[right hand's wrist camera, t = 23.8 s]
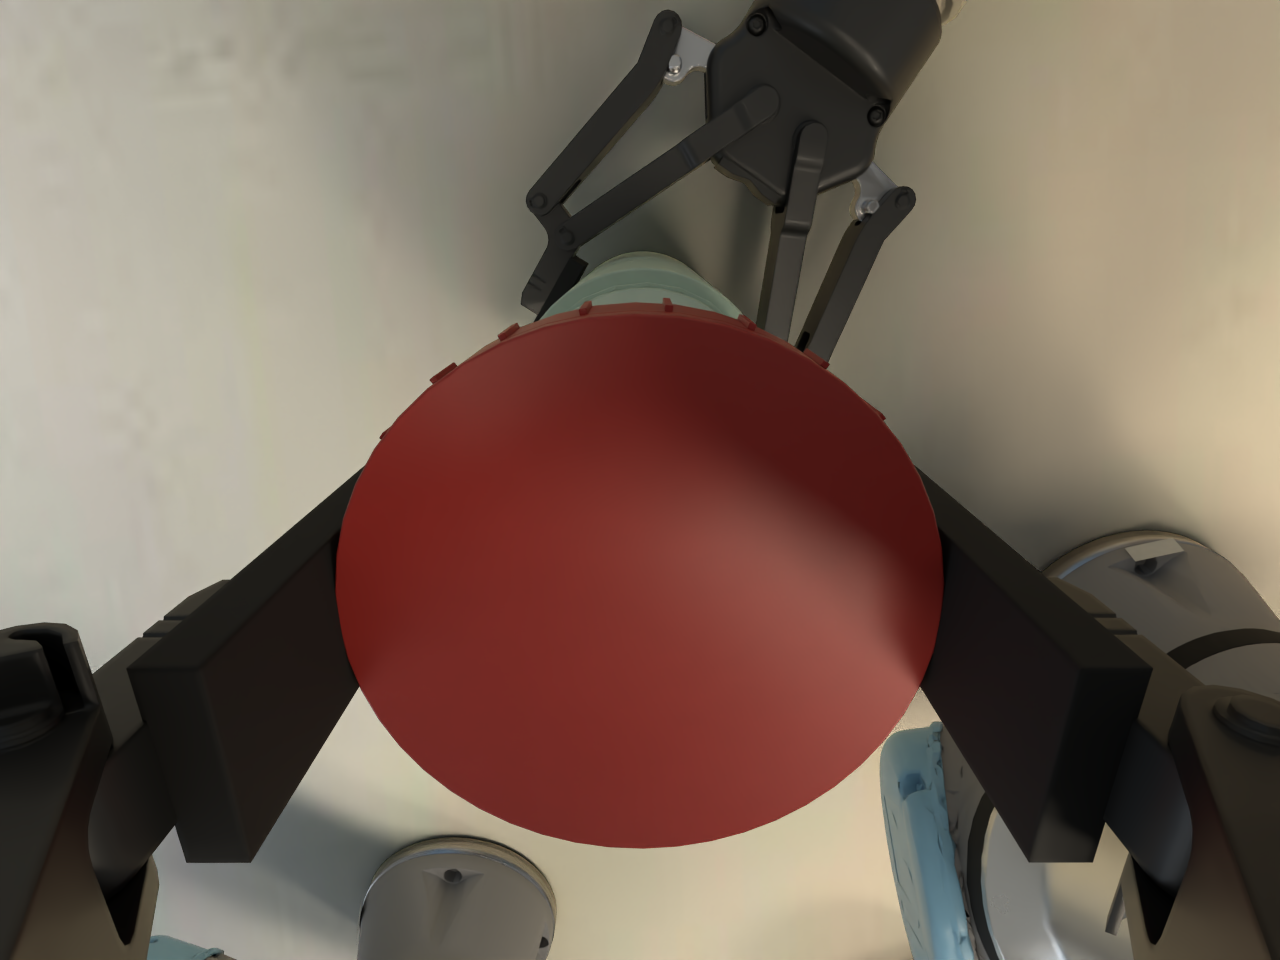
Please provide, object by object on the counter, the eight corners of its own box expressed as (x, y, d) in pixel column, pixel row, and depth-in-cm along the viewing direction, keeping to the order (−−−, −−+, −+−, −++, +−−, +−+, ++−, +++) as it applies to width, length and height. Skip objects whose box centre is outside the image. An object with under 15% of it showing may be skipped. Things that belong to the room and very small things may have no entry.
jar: (543, 285, 38) (461, 332, 21) (688, 226, 37) (729, 224, 20) (601, 424, 41) (571, 567, 24) (737, 373, 40) (811, 485, 23)
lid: (253, 532, 11) (196, 577, 10) (694, 156, 9) (704, 143, 8) (601, 854, 14) (596, 928, 13) (1007, 611, 12) (1058, 664, 11)
